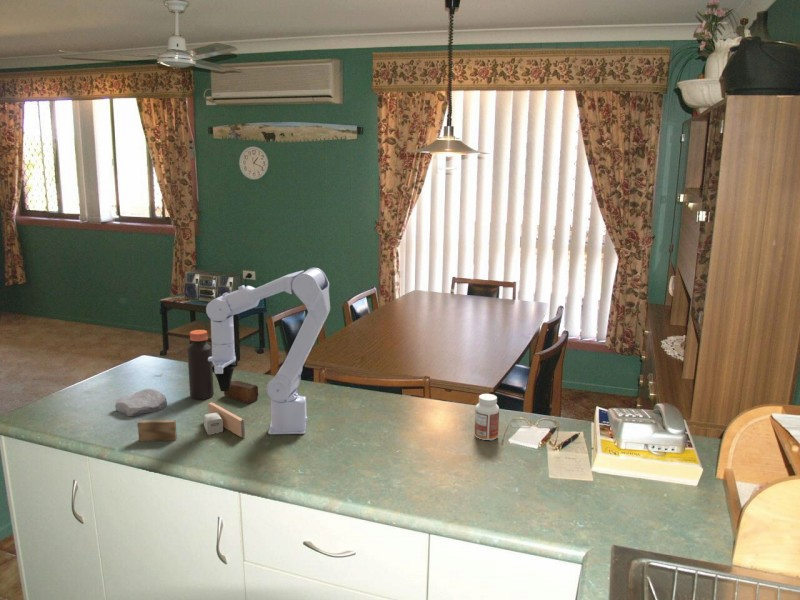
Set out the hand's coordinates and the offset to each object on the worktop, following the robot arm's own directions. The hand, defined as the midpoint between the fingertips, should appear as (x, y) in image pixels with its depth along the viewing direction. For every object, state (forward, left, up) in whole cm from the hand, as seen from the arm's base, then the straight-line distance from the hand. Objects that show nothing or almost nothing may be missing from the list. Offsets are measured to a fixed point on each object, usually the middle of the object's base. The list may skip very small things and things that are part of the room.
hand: (225, 390), depth 166 cm
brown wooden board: (+15, +10, -9) cm, 20 cm away
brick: (-1, -18, -10) cm, 21 cm away
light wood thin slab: (-1, +3, -9) cm, 10 cm away
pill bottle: (-69, +11, -10) cm, 71 cm away
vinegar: (+11, -20, -10) cm, 25 cm away
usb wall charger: (+3, +3, -10) cm, 11 cm away
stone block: (+25, -11, -10) cm, 29 cm away
